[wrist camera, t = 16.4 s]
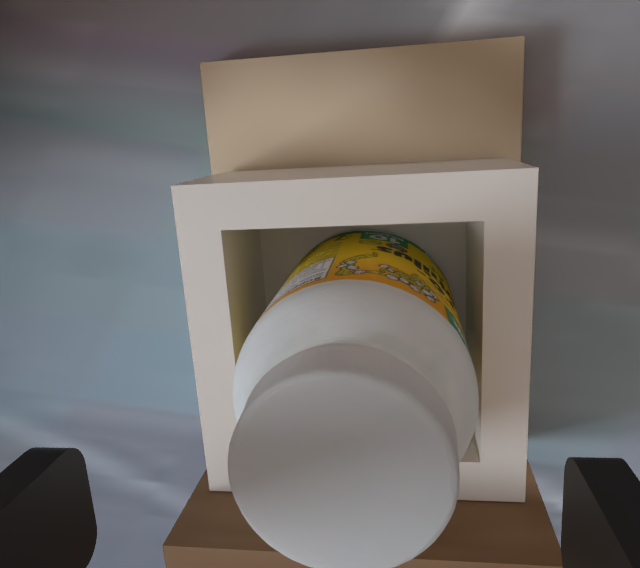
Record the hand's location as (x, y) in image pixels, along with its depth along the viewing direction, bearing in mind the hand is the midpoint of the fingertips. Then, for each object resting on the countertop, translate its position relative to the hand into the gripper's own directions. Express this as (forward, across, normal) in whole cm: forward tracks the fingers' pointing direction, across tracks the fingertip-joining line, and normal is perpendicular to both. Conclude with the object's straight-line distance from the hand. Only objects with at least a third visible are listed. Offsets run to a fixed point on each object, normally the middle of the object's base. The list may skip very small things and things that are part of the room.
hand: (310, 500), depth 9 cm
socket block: (+11, 0, 0) cm, 11 cm away
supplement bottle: (+10, 0, 0) cm, 10 cm away
